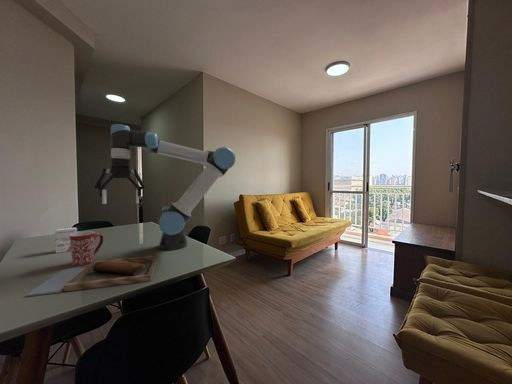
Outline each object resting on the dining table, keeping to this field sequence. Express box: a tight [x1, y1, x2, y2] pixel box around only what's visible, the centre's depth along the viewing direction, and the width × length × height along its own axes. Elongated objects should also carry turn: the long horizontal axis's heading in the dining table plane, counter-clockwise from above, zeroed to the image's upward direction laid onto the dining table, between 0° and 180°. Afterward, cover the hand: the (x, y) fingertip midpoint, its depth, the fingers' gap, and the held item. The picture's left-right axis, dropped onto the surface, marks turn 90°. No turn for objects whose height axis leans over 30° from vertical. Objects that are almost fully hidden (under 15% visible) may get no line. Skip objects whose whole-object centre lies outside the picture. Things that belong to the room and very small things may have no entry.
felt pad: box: [25, 267, 86, 298], centre depth 75 cm, size 9×20×1 cm, turn 18°
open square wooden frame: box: [63, 254, 160, 293], centre depth 83 cm, size 26×23×2 cm
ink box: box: [54, 227, 78, 254], centre depth 109 cm, size 8×5×12 cm, turn 133°
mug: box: [69, 230, 104, 267], centre depth 94 cm, size 13×9×14 cm
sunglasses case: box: [93, 259, 147, 276], centre depth 84 cm, size 18×7×7 cm
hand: (121, 203), depth 97 cm, fingers open, 13 cm apart
